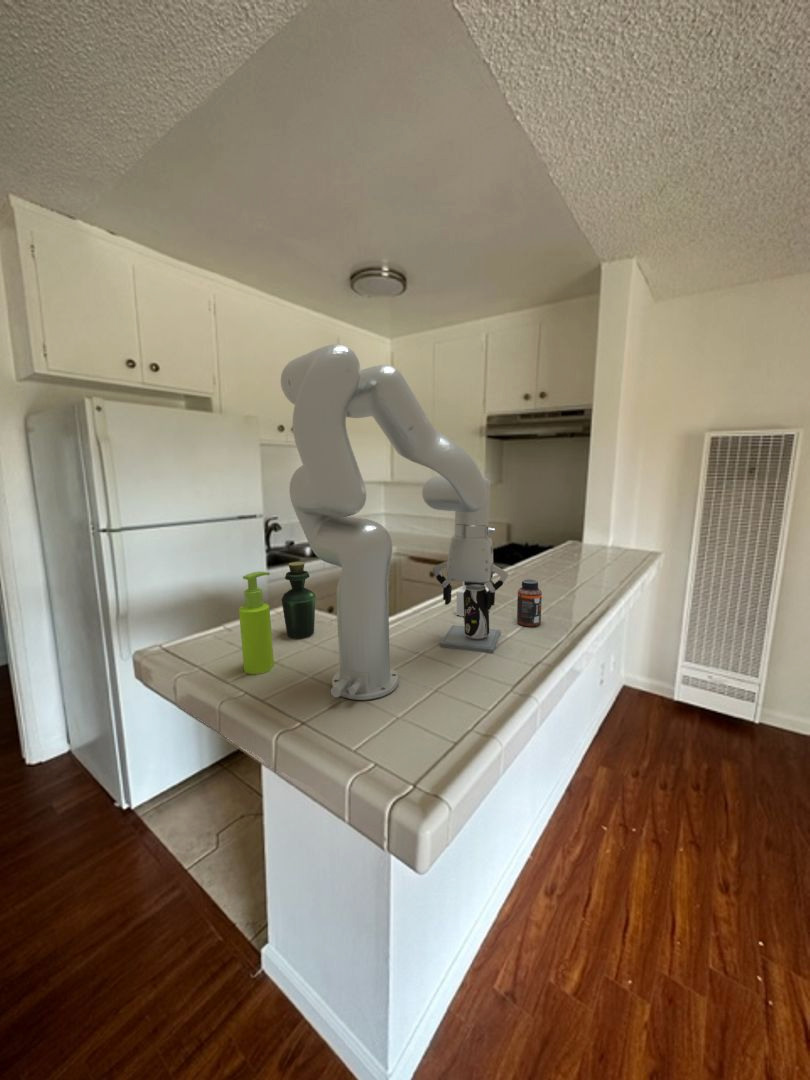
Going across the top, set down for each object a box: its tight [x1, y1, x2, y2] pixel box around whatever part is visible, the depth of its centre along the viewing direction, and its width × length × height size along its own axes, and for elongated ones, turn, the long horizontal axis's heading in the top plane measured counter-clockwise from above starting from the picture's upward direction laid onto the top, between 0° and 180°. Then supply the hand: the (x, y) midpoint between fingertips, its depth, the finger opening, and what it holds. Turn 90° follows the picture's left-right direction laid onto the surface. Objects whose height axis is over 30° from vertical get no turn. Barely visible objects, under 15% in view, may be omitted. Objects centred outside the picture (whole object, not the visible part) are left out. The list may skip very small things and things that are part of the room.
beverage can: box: [463, 585, 490, 639], centre depth 102 cm, size 6×6×12 cm
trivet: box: [439, 624, 502, 654], centre depth 103 cm, size 12×12×1 cm
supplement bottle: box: [516, 578, 543, 628], centre depth 112 cm, size 6×6×11 cm
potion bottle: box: [281, 561, 316, 640], centre depth 107 cm, size 8×8×18 cm
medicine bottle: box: [456, 582, 491, 617], centre depth 120 cm, size 7×7×12 cm
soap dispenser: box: [238, 571, 275, 675], centre depth 90 cm, size 6×7×20 cm
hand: (468, 605), depth 101 cm, fingers open, 9 cm apart
